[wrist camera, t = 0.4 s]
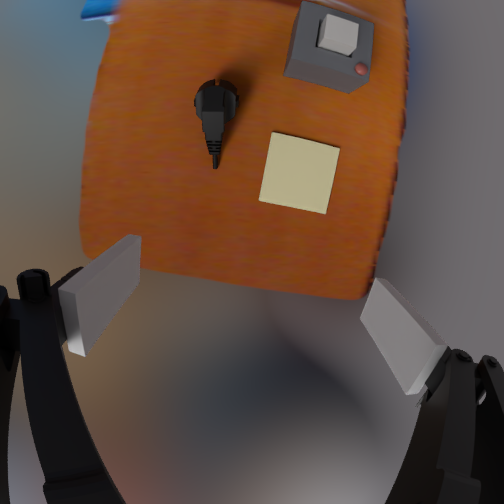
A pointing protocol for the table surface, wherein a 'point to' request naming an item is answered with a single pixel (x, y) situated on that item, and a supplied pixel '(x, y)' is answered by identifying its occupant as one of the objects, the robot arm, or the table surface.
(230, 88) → the power plug
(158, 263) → the table surface
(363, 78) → the switch box
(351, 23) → the button
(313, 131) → the table surface
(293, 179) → the pad
